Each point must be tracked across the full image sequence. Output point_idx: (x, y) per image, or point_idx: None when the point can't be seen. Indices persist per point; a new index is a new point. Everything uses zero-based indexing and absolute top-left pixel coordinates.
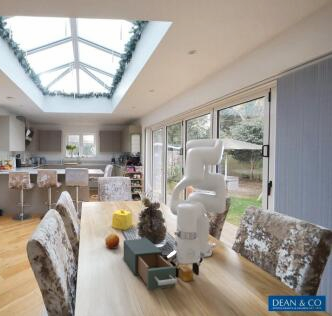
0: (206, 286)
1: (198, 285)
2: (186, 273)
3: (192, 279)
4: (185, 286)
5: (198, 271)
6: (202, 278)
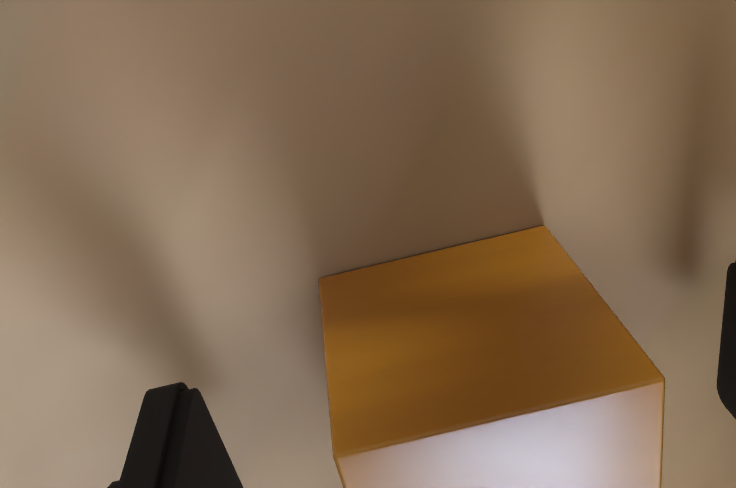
0: (60, 43)
1: (273, 80)
2: (565, 348)
3: (336, 282)
4: (640, 22)
5: (130, 471)
6: (59, 354)
